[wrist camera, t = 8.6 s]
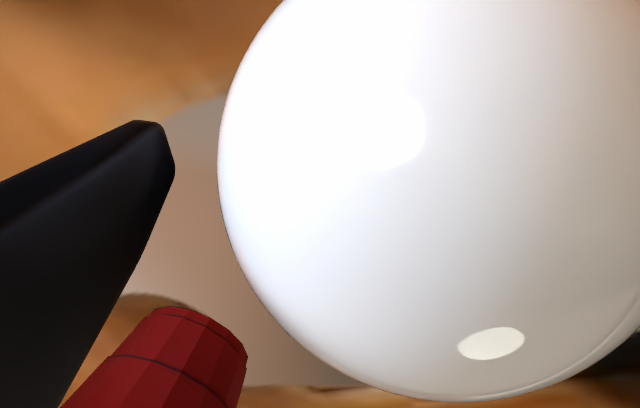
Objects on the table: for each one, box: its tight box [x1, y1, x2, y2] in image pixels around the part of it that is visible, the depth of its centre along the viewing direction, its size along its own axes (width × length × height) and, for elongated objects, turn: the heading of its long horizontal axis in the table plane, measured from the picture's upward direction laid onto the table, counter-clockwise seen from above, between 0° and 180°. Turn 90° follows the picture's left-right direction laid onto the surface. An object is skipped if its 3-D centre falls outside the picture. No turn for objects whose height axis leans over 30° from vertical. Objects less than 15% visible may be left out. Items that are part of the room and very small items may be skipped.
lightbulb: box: [217, 0, 640, 403], centre depth 10 cm, size 6×6×11 cm
